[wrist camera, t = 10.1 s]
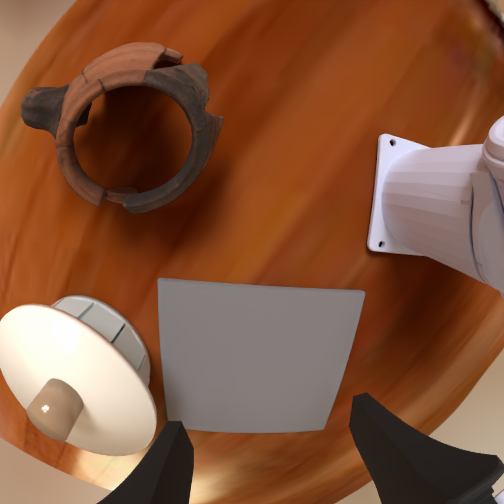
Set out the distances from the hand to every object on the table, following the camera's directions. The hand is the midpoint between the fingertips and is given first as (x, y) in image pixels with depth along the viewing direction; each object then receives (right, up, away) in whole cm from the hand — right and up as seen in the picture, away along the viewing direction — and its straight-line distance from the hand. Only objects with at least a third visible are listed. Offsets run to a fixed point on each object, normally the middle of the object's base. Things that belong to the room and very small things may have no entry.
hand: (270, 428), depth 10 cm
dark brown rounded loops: (-8, +16, +6) cm, 19 cm away
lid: (-13, -2, +4) cm, 14 cm away
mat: (0, -2, +10) cm, 10 cm away
